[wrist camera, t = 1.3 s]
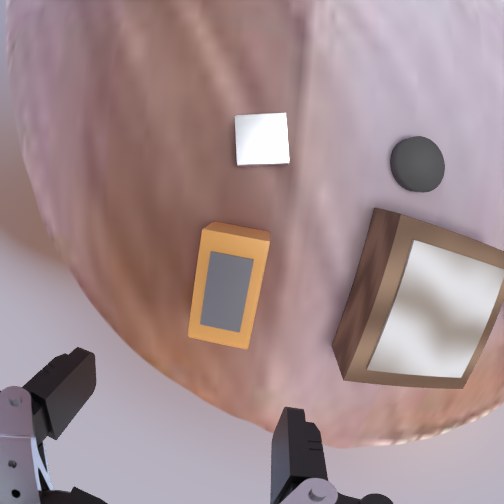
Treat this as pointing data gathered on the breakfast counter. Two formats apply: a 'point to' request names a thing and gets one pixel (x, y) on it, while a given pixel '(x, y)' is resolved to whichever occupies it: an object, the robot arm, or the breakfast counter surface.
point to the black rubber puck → (417, 164)
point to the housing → (228, 283)
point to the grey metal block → (261, 140)
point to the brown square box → (418, 305)
